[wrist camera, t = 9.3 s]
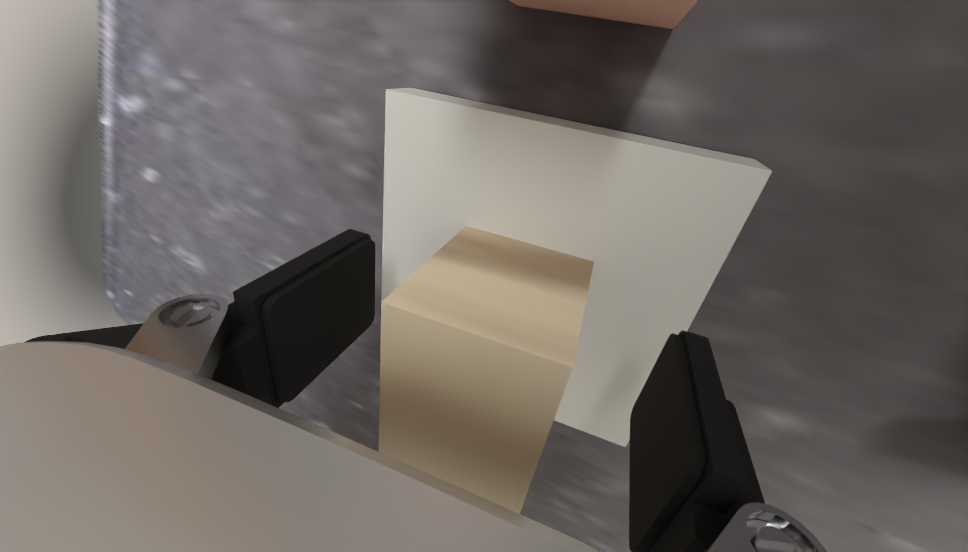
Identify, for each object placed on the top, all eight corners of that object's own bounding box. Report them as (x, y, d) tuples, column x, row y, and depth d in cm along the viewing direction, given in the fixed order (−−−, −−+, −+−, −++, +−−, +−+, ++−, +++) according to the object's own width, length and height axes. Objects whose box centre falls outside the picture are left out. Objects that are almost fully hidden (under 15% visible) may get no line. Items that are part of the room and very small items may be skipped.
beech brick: (465, 225, 12) (381, 302, 8) (594, 261, 11) (572, 367, 7) (449, 347, 14) (378, 453, 10) (552, 384, 14) (519, 515, 10)
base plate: (411, 87, 12) (385, 89, 11) (754, 159, 10) (772, 171, 9) (398, 334, 17) (380, 354, 16) (625, 416, 15) (625, 447, 14)
